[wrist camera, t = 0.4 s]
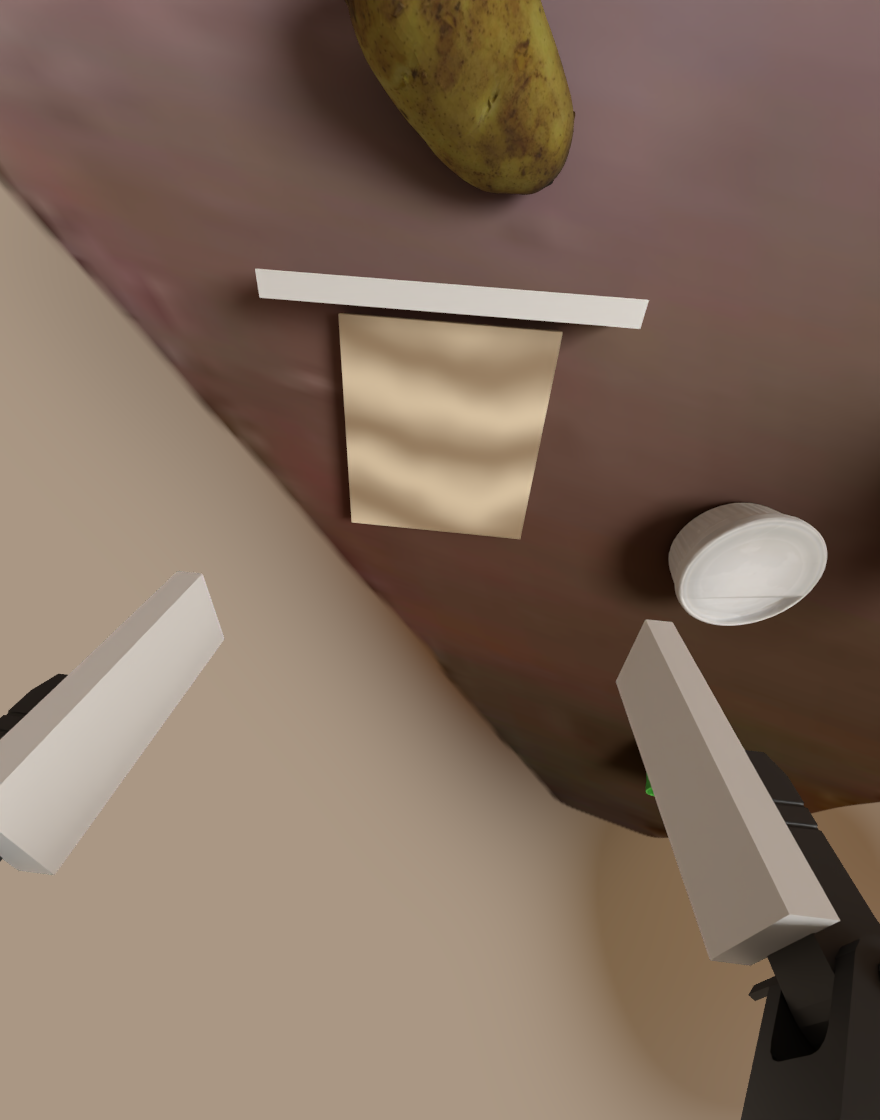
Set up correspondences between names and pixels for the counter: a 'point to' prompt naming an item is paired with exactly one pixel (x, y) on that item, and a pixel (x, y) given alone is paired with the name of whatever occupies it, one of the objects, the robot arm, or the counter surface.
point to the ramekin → (744, 563)
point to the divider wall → (451, 298)
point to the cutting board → (443, 421)
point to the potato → (474, 85)
